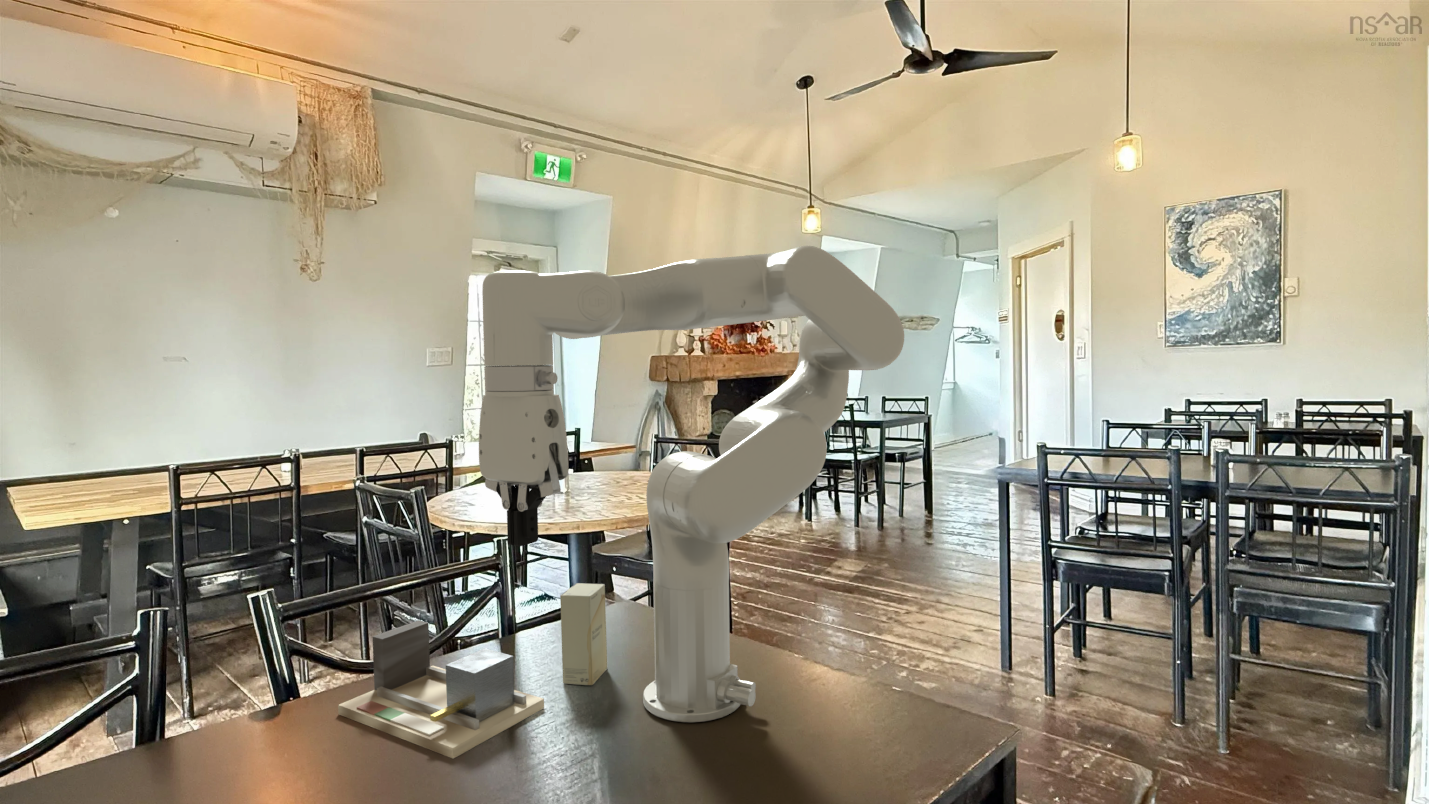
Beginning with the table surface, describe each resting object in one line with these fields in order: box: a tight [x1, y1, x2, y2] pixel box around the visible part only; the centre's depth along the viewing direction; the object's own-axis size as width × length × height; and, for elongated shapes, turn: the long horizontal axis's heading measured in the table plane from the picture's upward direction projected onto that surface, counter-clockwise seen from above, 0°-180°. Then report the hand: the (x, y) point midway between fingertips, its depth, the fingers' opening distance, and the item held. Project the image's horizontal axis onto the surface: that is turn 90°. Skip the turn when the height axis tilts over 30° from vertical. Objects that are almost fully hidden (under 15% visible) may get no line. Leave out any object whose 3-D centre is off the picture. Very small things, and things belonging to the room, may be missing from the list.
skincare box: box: [559, 582, 608, 686], centre depth 105 cm, size 6×4×12 cm
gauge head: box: [430, 648, 515, 722], centre depth 91 cm, size 5×10×6 cm, turn 148°
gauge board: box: [337, 619, 545, 759], centre depth 95 cm, size 21×14×8 cm, turn 58°
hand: (523, 542), depth 88 cm, fingers closed
